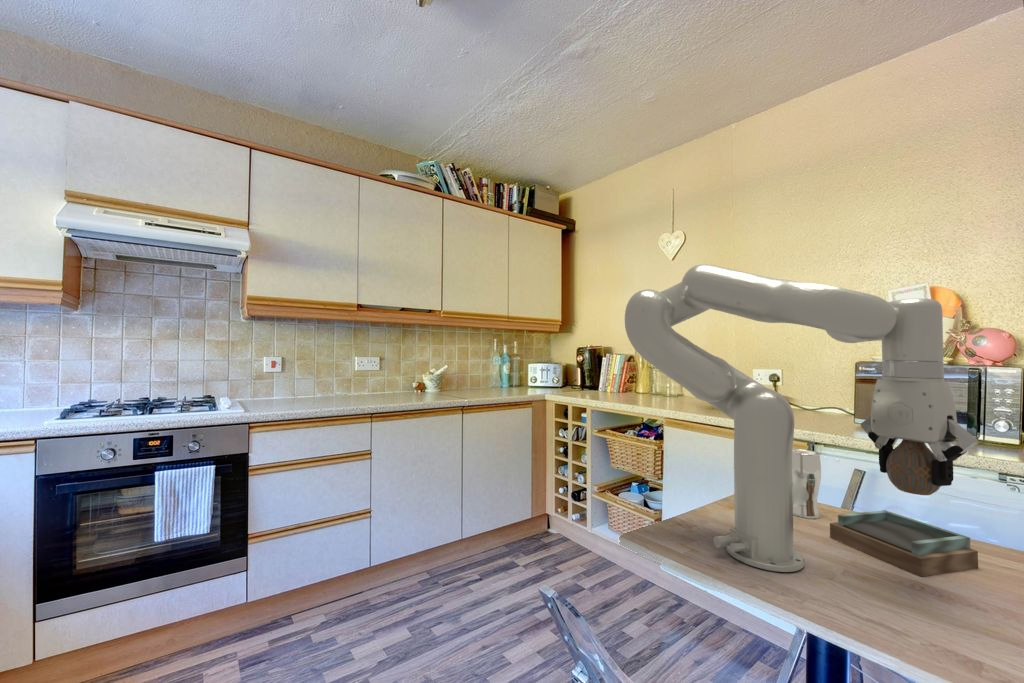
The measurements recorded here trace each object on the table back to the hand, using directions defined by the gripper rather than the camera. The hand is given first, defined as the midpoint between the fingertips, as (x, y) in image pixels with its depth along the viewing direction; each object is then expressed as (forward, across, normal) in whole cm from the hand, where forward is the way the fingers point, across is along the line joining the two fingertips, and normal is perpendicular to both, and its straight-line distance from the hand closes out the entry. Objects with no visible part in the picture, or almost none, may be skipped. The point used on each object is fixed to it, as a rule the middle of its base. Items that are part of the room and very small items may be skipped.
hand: (913, 477), depth 70 cm
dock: (+18, -10, +11) cm, 23 cm away
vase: (+3, 0, 0) cm, 3 cm away
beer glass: (+18, -30, +11) cm, 36 cm away
